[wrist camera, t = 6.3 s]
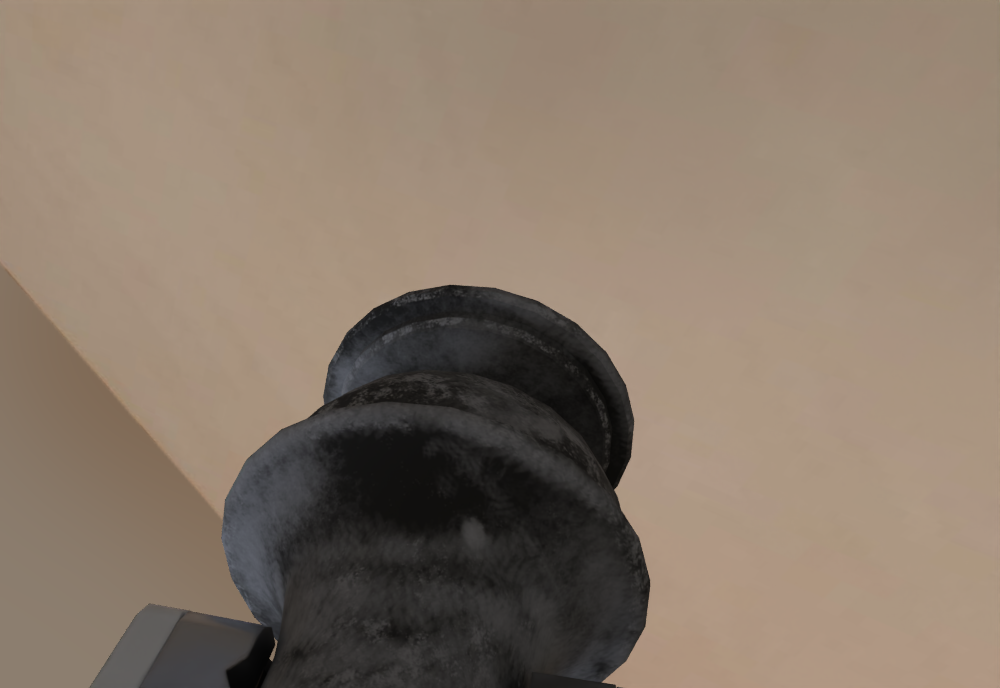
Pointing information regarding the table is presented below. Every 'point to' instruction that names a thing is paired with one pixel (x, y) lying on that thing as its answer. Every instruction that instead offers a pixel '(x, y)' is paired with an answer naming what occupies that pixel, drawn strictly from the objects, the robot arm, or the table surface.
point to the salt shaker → (446, 506)
